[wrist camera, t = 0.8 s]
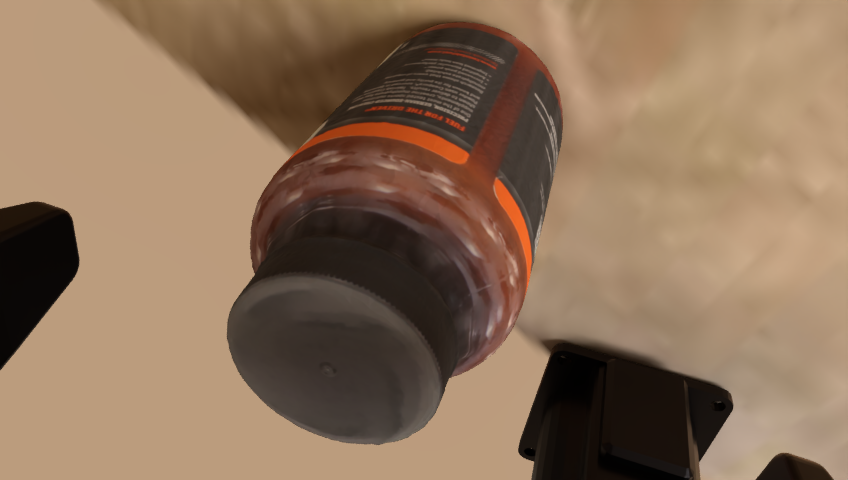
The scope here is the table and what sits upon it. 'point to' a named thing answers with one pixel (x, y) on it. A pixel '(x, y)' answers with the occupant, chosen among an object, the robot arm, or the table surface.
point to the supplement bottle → (400, 236)
